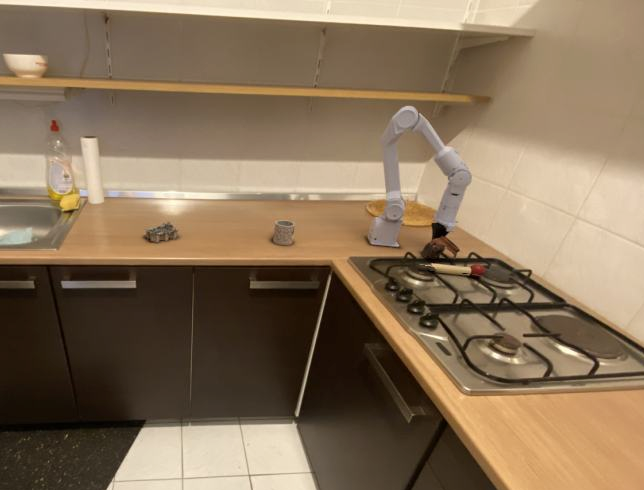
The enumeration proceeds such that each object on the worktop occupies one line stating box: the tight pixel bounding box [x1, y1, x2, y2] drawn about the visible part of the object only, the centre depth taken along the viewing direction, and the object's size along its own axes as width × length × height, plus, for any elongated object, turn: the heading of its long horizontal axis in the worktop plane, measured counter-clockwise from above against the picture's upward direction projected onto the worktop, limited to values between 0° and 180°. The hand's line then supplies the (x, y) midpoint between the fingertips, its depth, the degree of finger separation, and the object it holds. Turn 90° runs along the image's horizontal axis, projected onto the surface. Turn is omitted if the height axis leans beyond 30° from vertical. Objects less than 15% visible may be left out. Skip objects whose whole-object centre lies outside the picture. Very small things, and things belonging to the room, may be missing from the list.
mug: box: [272, 219, 296, 246], centre depth 135 cm, size 10×7×7 cm, turn 9°
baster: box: [419, 262, 486, 278], centre depth 116 cm, size 18×4×4 cm, turn 79°
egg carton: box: [144, 221, 180, 243], centre depth 133 cm, size 11×8×4 cm
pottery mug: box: [421, 236, 461, 259], centre depth 125 cm, size 12×10×8 cm
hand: (435, 244), depth 131 cm, fingers closed
